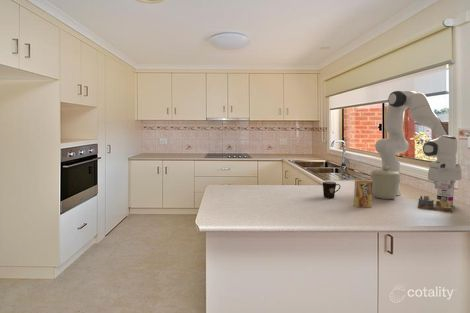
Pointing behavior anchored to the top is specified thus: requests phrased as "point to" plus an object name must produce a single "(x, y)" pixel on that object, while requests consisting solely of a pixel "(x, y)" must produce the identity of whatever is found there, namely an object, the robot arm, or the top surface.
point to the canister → (385, 183)
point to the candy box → (363, 193)
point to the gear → (426, 201)
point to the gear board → (435, 205)
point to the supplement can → (445, 191)
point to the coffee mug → (329, 189)
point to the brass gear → (443, 203)
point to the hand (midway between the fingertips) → (443, 188)
